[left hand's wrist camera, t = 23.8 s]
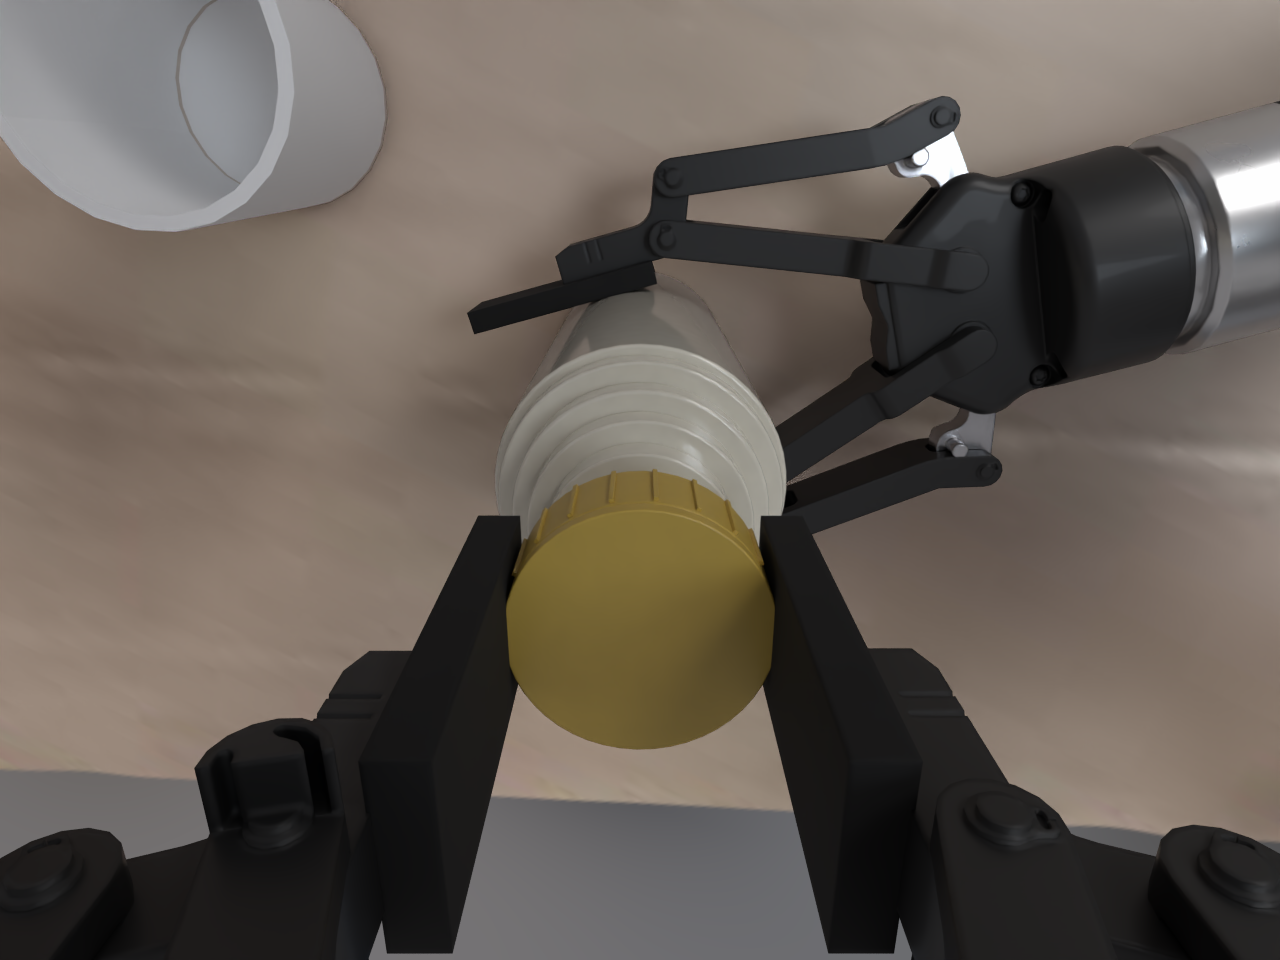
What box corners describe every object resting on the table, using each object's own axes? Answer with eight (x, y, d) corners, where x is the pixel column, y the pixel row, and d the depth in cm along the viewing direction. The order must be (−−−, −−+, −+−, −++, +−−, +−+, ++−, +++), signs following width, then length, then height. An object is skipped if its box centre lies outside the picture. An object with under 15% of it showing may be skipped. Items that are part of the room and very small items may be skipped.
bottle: (668, 457, 37) (708, 836, 15) (532, 382, 35) (367, 680, 14) (751, 323, 34) (932, 545, 13) (609, 238, 33) (554, 332, 12)
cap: (573, 716, 16) (565, 782, 14) (476, 517, 14) (452, 564, 12) (795, 645, 15) (814, 705, 13) (717, 431, 14) (729, 466, 12)
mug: (447, 130, 32) (362, 104, 22) (283, 262, 33) (138, 294, 24) (250, -144, 29) (50, -314, 19) (81, 18, 30) (-181, -60, 21)
